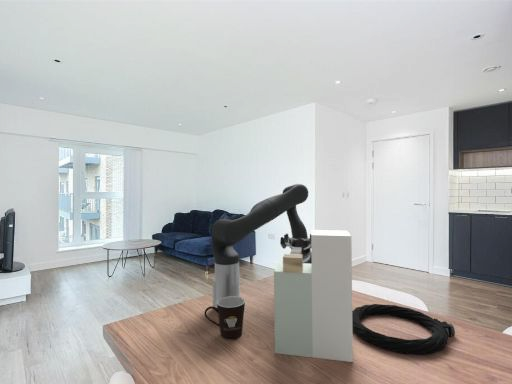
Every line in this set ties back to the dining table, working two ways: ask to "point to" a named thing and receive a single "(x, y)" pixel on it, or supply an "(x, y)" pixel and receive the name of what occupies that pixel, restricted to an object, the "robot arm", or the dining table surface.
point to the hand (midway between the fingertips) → (298, 236)
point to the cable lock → (397, 344)
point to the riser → (317, 301)
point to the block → (293, 261)
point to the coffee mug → (229, 316)
